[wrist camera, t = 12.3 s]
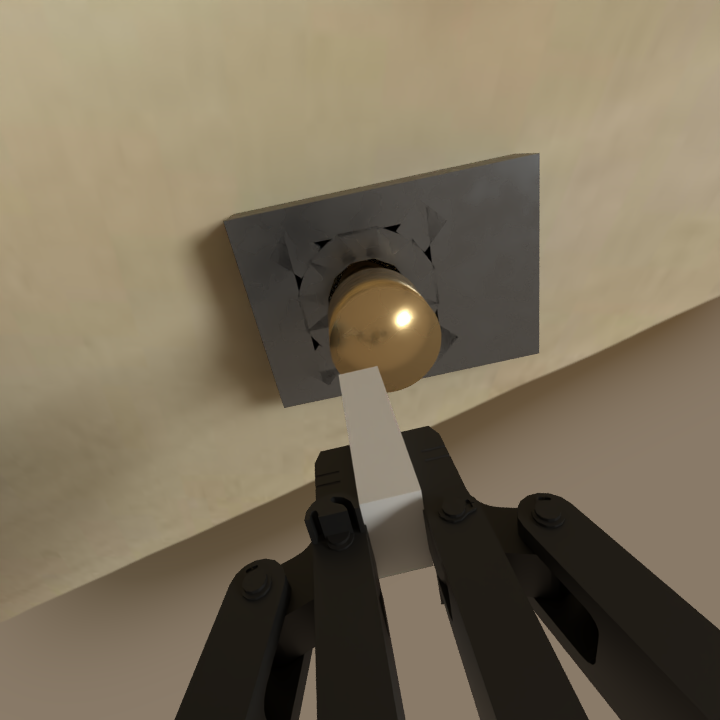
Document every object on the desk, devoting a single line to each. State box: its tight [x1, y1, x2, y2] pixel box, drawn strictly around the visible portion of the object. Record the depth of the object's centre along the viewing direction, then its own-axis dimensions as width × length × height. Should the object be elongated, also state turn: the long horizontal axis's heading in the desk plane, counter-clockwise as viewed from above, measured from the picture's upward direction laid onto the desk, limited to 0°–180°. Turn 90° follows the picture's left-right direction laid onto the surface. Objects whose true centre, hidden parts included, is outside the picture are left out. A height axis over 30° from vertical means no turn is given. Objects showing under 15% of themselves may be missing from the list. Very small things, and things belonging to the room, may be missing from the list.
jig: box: [223, 153, 539, 408], centre depth 30 cm, size 20×14×4 cm
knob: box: [328, 261, 441, 392], centre depth 27 cm, size 6×6×11 cm
